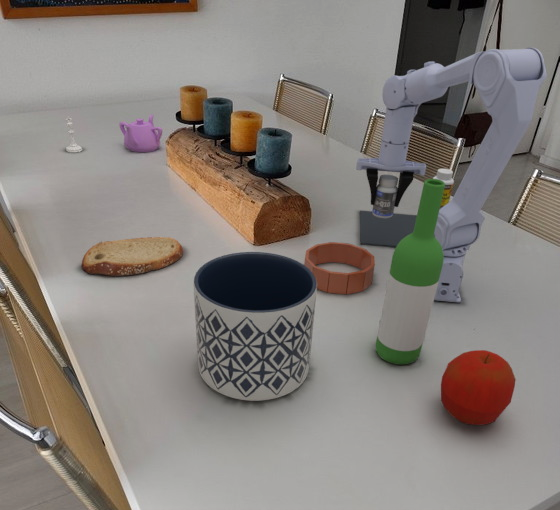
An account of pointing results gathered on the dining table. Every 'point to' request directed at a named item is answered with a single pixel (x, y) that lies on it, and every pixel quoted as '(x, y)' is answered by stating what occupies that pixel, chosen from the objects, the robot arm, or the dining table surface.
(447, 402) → the apple
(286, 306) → the planter
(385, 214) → the pill bottle
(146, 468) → the dining table surface
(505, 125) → the robot arm
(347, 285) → the bracelet
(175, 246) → the slice of bread
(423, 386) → the dining table surface
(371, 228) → the mat
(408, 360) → the wine bottle
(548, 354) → the dining table surface
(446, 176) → the supplement bottle
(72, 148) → the chess piece
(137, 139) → the teapot
